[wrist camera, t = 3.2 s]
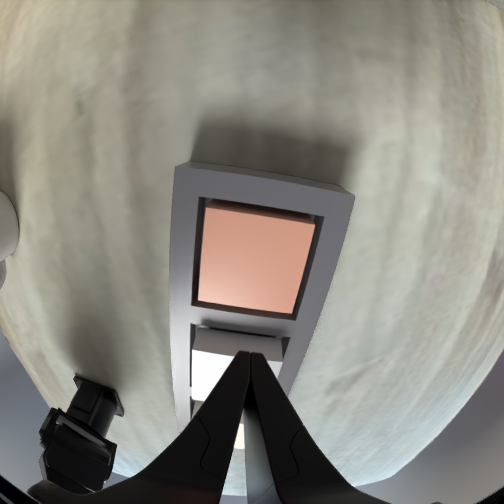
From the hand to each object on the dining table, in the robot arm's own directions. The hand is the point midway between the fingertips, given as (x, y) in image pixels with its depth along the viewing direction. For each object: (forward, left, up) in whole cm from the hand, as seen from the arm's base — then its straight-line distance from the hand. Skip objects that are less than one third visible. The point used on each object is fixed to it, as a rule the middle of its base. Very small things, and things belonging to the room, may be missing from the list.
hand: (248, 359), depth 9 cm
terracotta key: (0, 0, -10) cm, 10 cm away
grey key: (-9, 0, -8) cm, 12 cm away
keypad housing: (-9, 0, -11) cm, 14 cm away
